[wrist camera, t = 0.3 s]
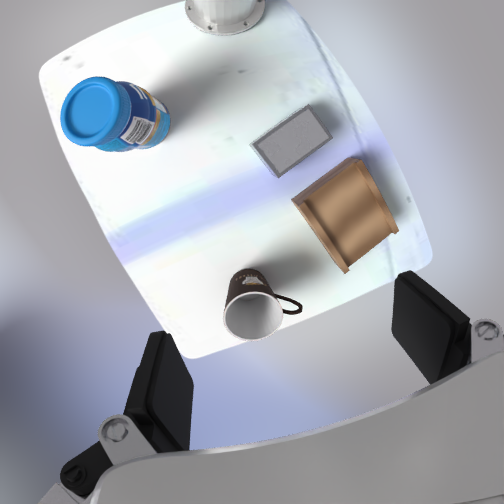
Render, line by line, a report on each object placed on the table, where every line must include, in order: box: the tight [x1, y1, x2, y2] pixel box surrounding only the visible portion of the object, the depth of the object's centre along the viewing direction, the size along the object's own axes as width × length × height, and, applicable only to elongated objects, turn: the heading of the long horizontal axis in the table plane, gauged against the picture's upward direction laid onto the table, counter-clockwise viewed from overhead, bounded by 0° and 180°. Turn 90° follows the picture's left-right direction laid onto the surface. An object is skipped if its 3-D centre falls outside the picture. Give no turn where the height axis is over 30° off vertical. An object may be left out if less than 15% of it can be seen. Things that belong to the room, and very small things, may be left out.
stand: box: [291, 158, 399, 274], centre depth 44 cm, size 14×12×5 cm
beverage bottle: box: [60, 77, 170, 152], centre depth 29 cm, size 8×8×20 cm
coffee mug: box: [223, 269, 302, 341], centre depth 45 cm, size 12×9×10 cm
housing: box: [249, 104, 333, 178], centre depth 39 cm, size 6×10×5 cm, turn 128°
